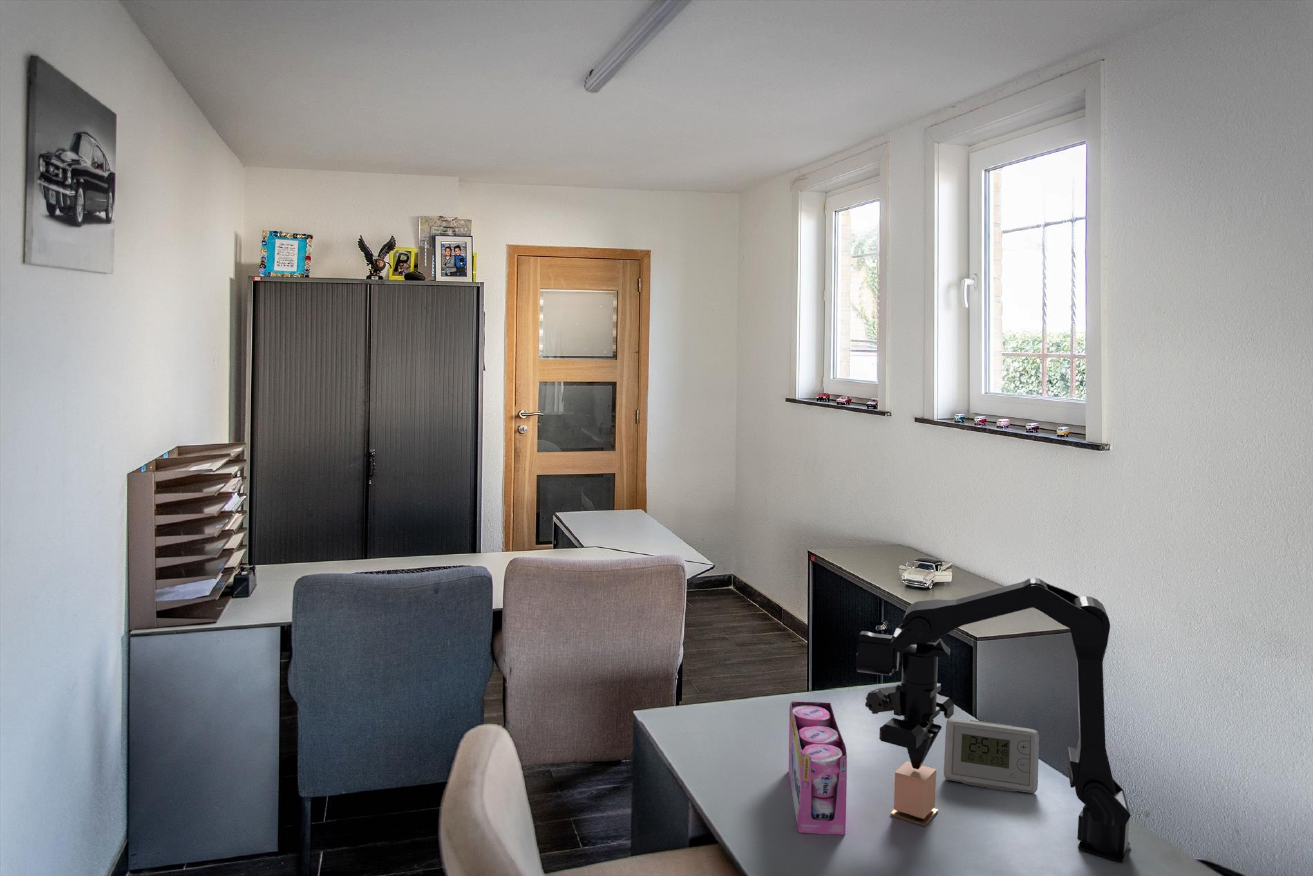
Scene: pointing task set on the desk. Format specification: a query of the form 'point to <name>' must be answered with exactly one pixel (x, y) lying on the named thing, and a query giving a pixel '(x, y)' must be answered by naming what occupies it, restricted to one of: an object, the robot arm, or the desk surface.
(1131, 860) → the desk surface
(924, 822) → the post on square base
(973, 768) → the digital clock
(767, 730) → the desk surface
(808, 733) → the gum box
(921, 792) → the tan cardboard box
